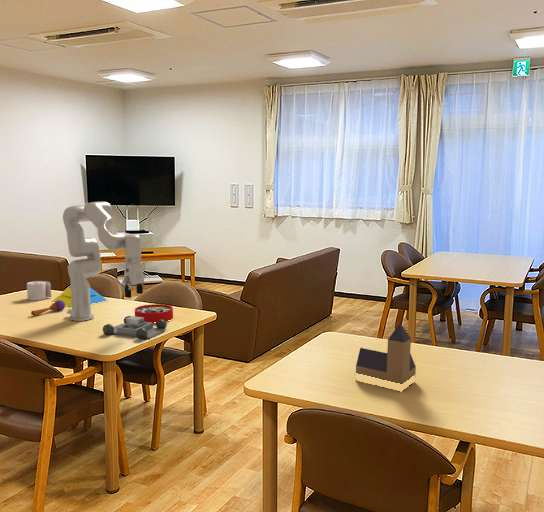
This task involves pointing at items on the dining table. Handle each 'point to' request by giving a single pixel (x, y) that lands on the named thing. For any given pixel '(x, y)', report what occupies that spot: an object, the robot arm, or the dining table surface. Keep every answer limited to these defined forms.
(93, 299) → the pyramid toy
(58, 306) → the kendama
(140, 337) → the chassis bay
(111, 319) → the dining table surface
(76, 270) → the robot arm
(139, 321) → the engine block
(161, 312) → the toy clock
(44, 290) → the toilet tissue
